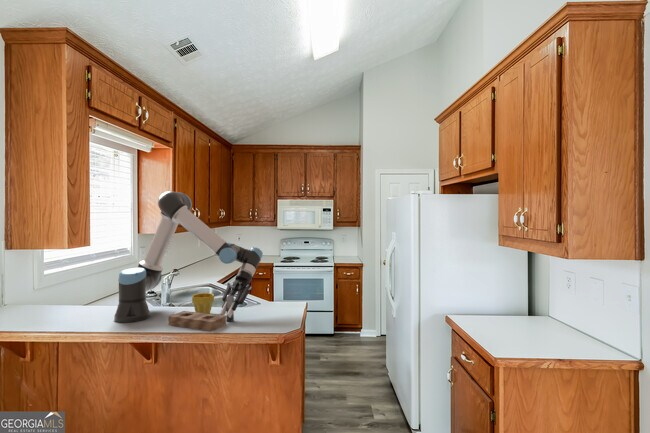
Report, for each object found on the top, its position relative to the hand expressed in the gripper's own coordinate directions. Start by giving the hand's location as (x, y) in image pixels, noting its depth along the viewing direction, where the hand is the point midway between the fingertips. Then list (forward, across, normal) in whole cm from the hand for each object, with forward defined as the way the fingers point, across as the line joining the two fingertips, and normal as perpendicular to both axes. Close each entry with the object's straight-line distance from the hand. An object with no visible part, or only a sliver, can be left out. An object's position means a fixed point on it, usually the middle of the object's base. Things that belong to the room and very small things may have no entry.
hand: (225, 315), depth 171 cm
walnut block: (+7, +10, +3) cm, 13 cm away
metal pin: (0, 0, -5) cm, 5 cm away
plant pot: (-3, +19, -8) cm, 21 cm away
